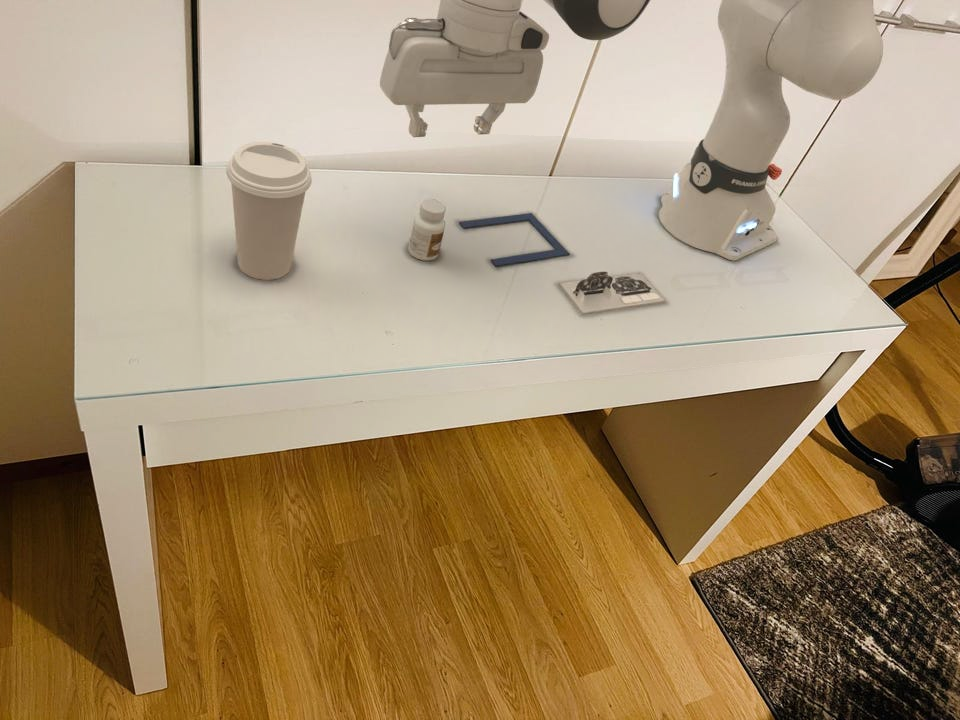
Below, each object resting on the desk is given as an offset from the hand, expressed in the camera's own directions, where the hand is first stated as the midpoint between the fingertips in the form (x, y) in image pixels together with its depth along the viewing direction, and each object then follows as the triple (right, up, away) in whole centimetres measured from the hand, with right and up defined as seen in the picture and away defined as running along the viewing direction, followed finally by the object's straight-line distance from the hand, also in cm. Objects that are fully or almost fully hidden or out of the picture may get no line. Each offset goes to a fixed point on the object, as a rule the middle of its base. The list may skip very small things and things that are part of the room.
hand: (449, 133), depth 94 cm
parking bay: (+8, -10, +20) cm, 24 cm away
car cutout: (+23, -19, +16) cm, 34 cm away
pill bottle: (-4, -13, +12) cm, 19 cm away
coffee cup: (-24, -16, +2) cm, 29 cm away
